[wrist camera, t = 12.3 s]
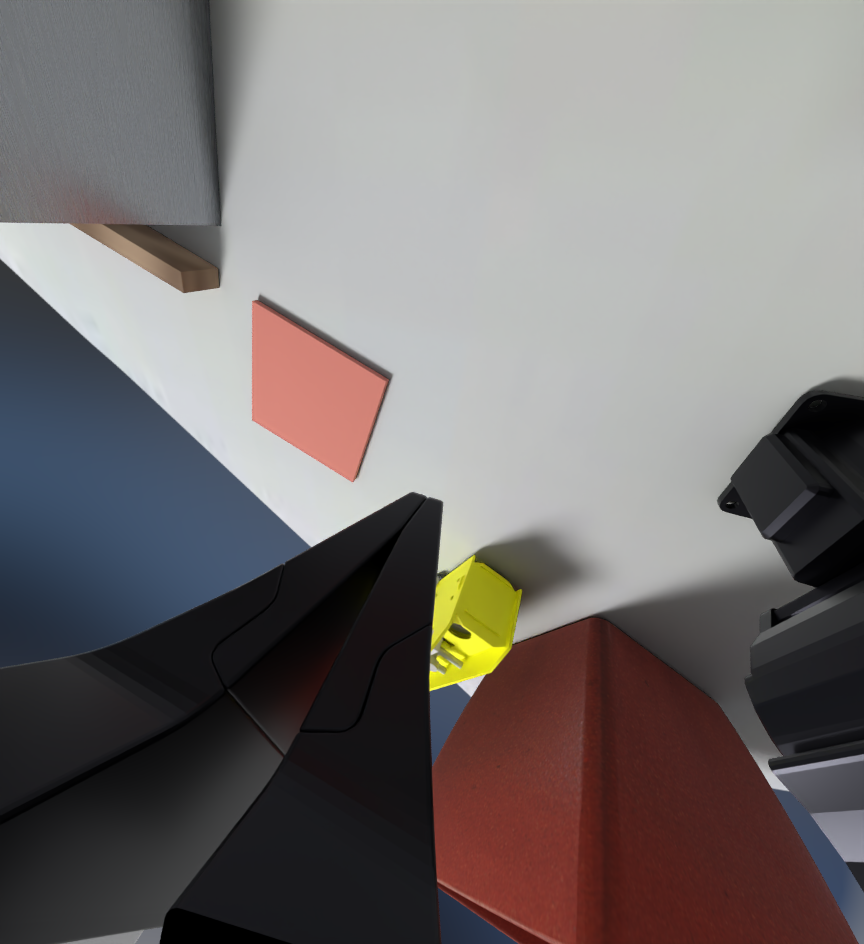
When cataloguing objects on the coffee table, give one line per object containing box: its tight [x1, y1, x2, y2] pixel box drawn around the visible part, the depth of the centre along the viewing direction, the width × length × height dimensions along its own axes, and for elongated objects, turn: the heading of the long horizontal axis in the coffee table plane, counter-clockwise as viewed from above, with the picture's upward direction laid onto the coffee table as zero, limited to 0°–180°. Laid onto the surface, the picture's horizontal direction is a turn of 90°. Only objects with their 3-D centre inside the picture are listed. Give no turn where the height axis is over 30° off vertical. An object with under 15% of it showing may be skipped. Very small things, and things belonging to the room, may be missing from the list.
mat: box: [252, 300, 389, 482], centre depth 24 cm, size 10×10×1 cm
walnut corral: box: [69, 223, 219, 293], centre depth 15 cm, size 15×17×2 cm
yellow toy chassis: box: [429, 555, 522, 691], centre depth 29 cm, size 16×6×8 cm, turn 151°
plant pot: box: [432, 618, 859, 944], centre depth 23 cm, size 19×19×17 cm
